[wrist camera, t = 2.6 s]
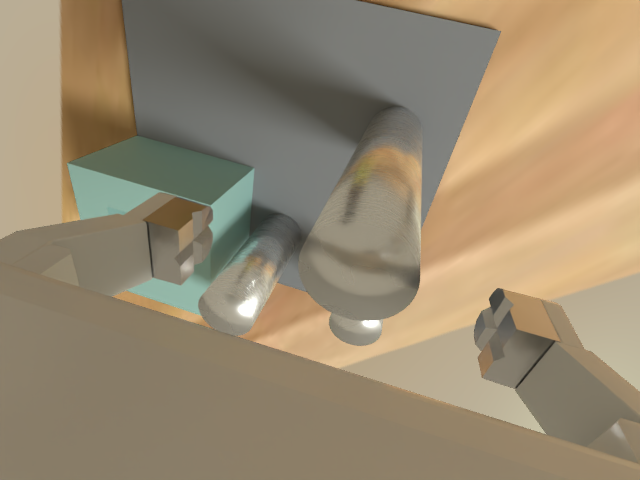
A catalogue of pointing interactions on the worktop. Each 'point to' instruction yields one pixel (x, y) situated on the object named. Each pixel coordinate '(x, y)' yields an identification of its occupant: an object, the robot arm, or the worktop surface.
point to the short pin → (355, 330)
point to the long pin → (371, 225)
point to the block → (176, 179)
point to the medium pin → (250, 276)
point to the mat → (298, 89)
